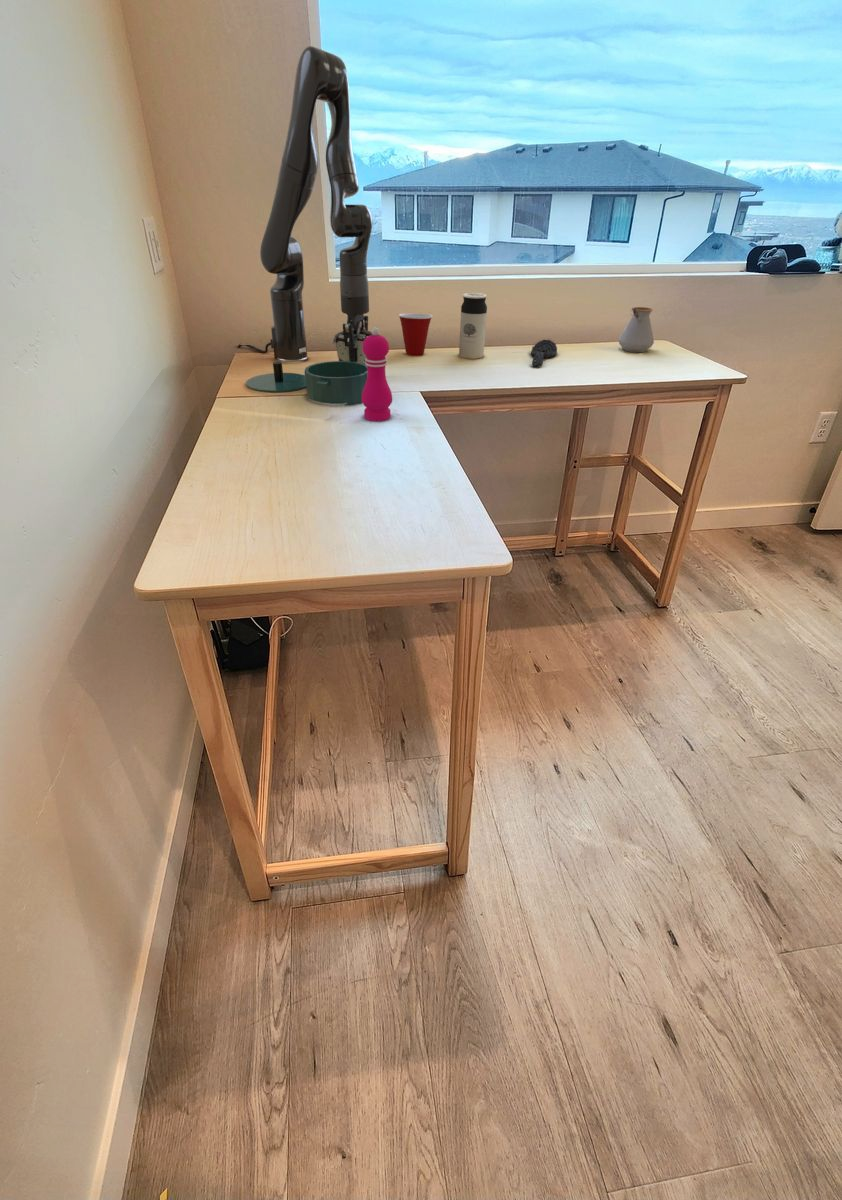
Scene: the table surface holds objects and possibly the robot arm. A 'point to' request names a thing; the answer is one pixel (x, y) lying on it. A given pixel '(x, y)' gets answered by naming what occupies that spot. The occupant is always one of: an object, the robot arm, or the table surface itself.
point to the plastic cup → (415, 332)
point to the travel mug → (473, 326)
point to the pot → (336, 382)
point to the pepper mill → (376, 378)
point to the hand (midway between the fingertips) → (357, 358)
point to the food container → (344, 351)
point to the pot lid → (277, 381)
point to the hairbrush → (543, 351)
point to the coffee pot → (638, 331)
